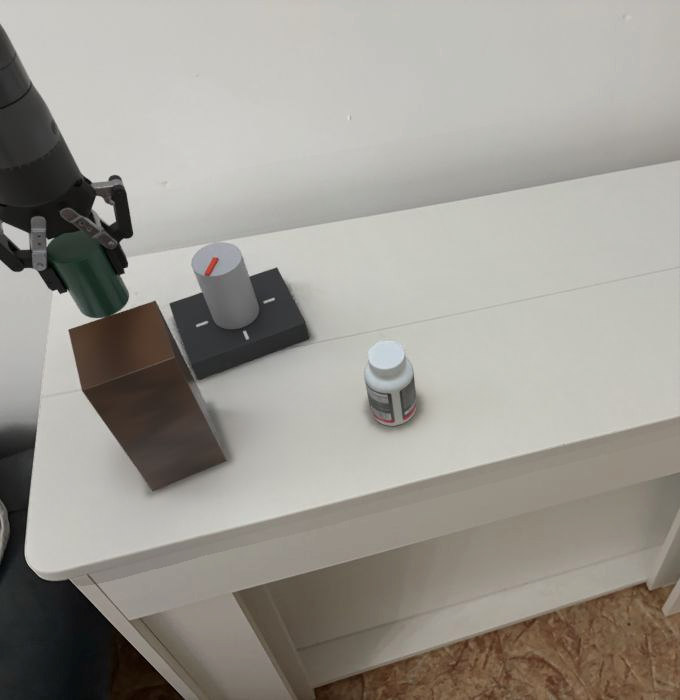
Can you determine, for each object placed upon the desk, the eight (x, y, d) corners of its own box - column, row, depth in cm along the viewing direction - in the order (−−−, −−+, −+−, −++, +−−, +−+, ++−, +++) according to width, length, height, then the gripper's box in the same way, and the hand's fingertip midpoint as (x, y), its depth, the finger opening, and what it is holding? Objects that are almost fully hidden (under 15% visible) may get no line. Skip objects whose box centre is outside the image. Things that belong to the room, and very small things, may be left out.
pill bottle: (407, 383, 84) (401, 328, 77) (424, 417, 81) (419, 364, 73) (363, 398, 83) (353, 344, 75) (379, 433, 80) (370, 381, 72)
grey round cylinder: (222, 293, 89) (201, 237, 82) (265, 298, 89) (248, 242, 82) (205, 326, 86) (182, 271, 79) (250, 332, 85) (230, 276, 78)
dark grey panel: (198, 380, 84) (190, 363, 82) (176, 319, 91) (168, 302, 88) (309, 338, 89) (305, 321, 86) (281, 283, 95) (276, 266, 92)
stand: (152, 491, 75) (81, 391, 61) (137, 434, 79) (67, 329, 66) (227, 460, 77) (175, 357, 63) (207, 407, 82) (155, 300, 68)
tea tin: (83, 324, 75) (49, 270, 69) (75, 293, 78) (42, 238, 72) (133, 308, 76) (104, 253, 70) (124, 277, 79) (95, 222, 73)
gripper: (91, 97, 66) (153, 236, 79) (-81, 139, 61) (14, 279, 74) (106, 139, 61) (168, 278, 75) (-78, 187, 57) (22, 326, 70)
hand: (91, 278), depth 74 cm, fingers closed on tea tin, 5 cm apart
